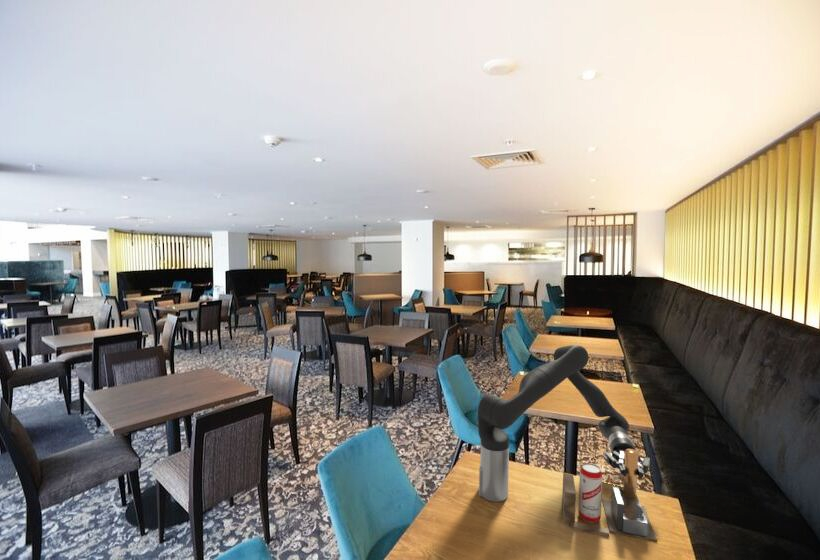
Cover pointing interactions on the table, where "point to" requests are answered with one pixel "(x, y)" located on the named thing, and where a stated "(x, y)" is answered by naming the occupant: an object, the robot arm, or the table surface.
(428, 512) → the table surface
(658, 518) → the table surface
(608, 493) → the table surface
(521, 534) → the table surface
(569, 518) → the vise frame
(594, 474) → the beer can
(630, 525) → the cylinder
